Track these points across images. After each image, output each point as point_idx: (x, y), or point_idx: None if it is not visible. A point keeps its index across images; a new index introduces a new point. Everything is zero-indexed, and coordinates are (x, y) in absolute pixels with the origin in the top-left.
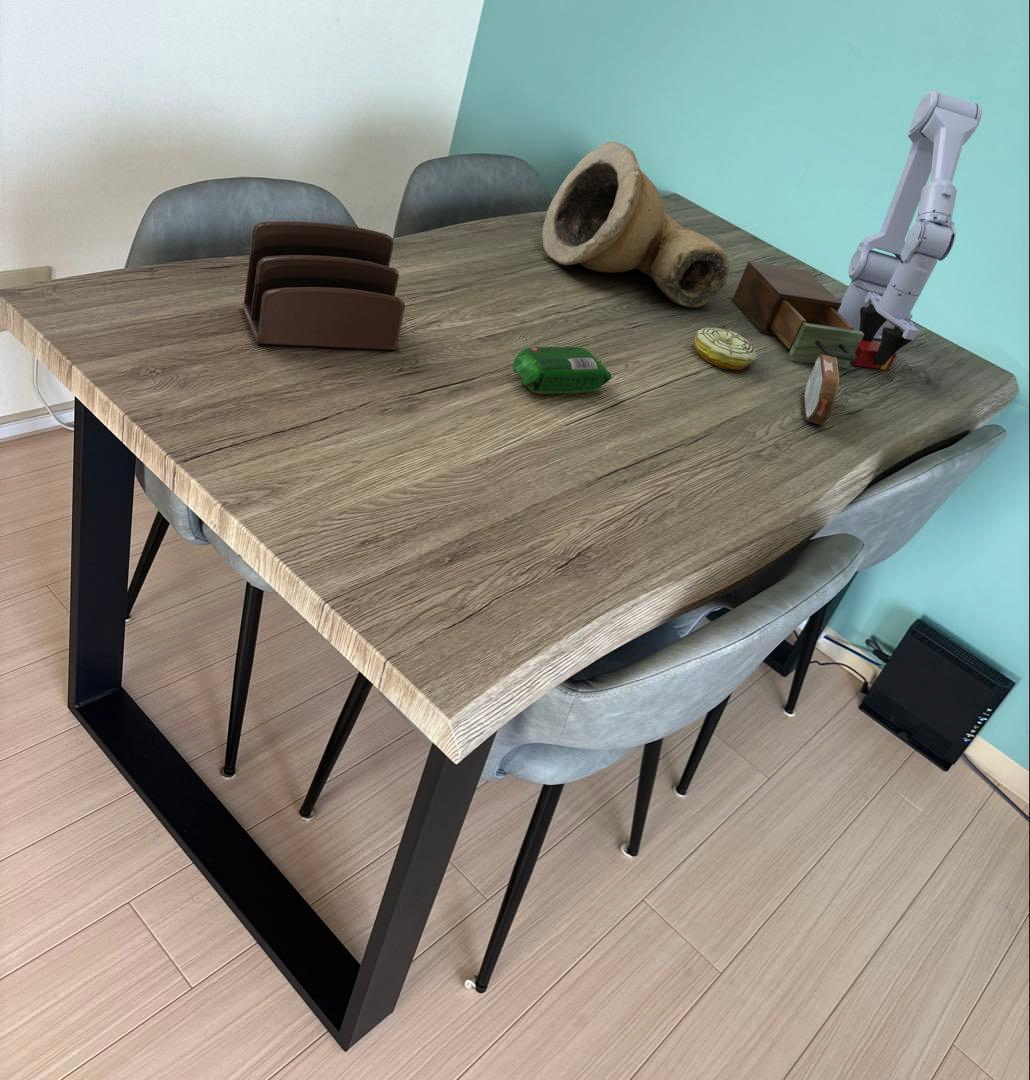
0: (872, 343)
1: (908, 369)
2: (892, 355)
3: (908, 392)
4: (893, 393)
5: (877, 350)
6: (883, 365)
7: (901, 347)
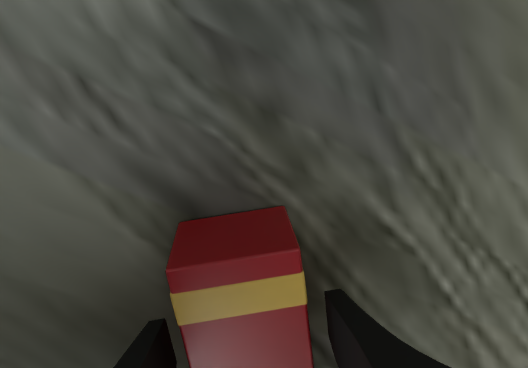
0: (214, 364)
1: (215, 51)
2: (374, 321)
3: (486, 185)
4: (507, 271)
5: (302, 365)
6: (344, 292)
7: (426, 357)
